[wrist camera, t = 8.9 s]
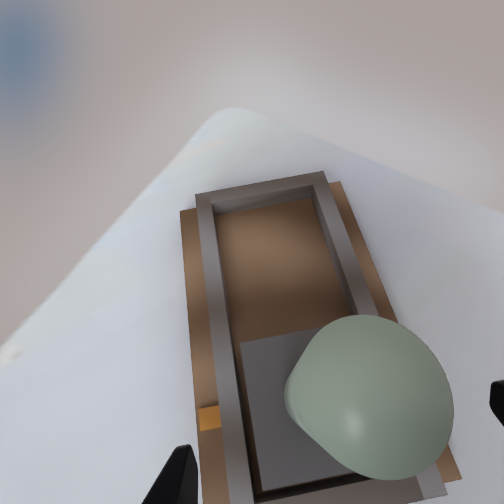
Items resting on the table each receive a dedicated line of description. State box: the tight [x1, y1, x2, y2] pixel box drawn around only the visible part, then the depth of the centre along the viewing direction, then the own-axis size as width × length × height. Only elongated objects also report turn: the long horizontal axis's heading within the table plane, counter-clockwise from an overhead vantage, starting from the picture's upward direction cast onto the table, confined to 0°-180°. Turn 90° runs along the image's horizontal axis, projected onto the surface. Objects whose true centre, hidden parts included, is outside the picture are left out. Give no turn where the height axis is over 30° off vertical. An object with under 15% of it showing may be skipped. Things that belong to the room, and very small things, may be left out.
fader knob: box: [240, 315, 454, 491], centre depth 10 cm, size 6×6×11 cm
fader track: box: [180, 171, 462, 504], centre depth 17 cm, size 18×12×3 cm, turn 10°
